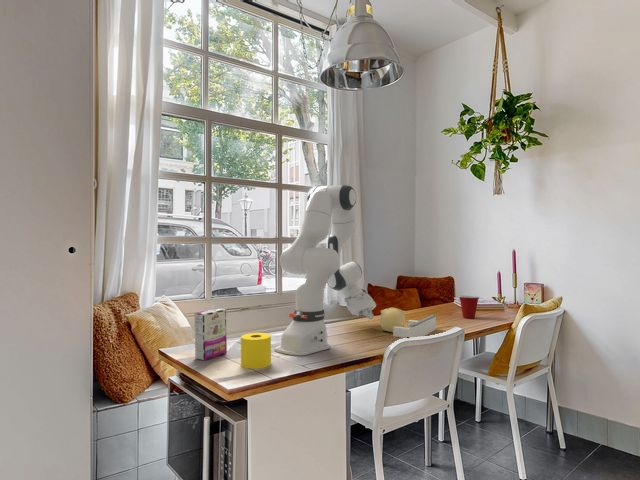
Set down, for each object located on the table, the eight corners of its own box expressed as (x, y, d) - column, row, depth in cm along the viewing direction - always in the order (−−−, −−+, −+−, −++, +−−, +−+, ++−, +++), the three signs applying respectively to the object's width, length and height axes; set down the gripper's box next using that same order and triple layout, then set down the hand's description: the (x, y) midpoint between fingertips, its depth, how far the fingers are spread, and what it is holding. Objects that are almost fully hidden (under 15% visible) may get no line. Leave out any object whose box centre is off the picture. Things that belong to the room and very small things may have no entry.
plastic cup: (481, 317, 224) (481, 295, 224) (477, 320, 215) (477, 297, 215) (461, 315, 230) (461, 293, 230) (456, 318, 221) (456, 295, 221)
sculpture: (404, 328, 196) (404, 305, 196) (405, 334, 184) (405, 310, 184) (380, 328, 198) (380, 305, 198) (379, 333, 186) (379, 309, 186)
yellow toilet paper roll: (236, 363, 142) (236, 335, 142) (262, 358, 148) (262, 331, 148) (248, 370, 134) (248, 341, 134) (276, 365, 140) (276, 337, 140)
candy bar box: (217, 351, 156) (217, 308, 156) (227, 353, 154) (227, 309, 154) (194, 358, 147) (193, 312, 147) (203, 361, 144) (203, 313, 144)
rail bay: (413, 341, 171) (413, 325, 171) (388, 338, 177) (388, 322, 177) (435, 329, 194) (435, 315, 194) (413, 326, 200) (413, 312, 200)
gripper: (347, 293, 192) (366, 317, 187) (367, 289, 209) (385, 310, 204) (338, 302, 195) (357, 326, 189) (359, 297, 212) (377, 318, 206)
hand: (372, 318), depth 197 cm, fingers closed
